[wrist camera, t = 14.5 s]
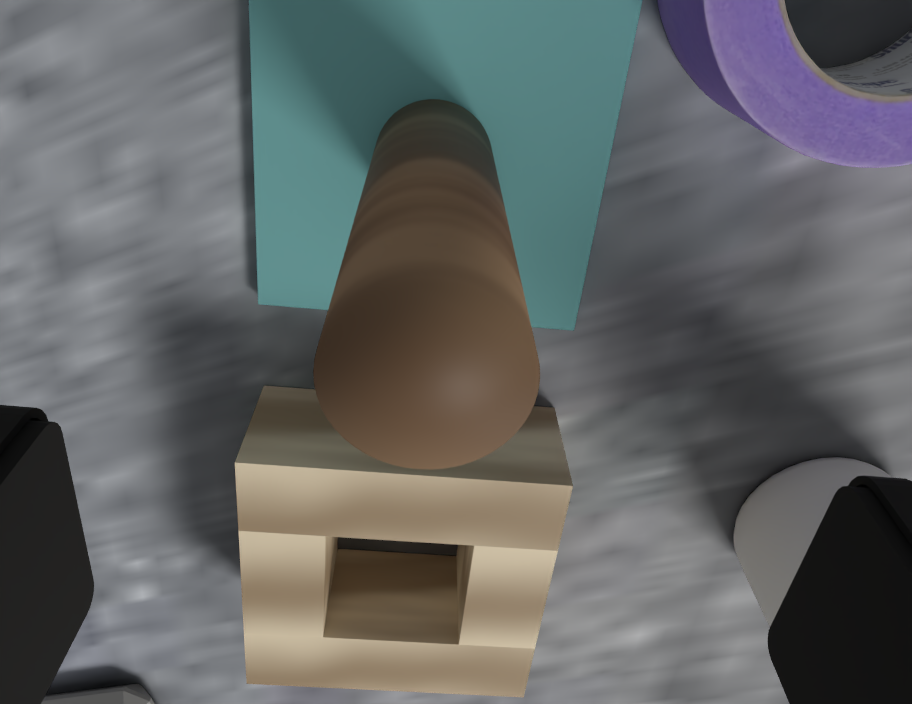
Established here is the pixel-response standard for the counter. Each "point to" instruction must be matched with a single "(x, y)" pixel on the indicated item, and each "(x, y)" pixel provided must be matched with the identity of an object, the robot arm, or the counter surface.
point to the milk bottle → (788, 523)
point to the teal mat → (446, 78)
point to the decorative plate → (103, 696)
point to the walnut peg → (428, 302)
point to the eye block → (393, 557)
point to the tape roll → (795, 82)
